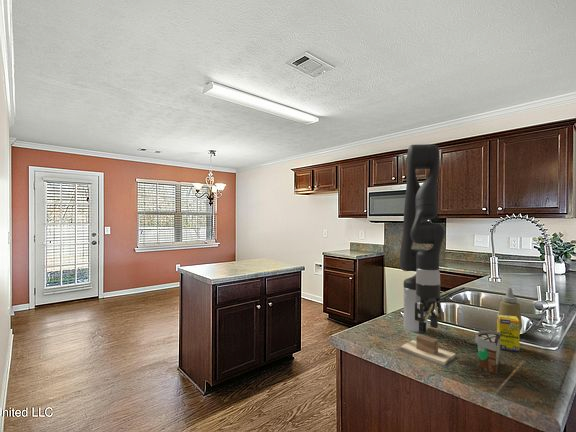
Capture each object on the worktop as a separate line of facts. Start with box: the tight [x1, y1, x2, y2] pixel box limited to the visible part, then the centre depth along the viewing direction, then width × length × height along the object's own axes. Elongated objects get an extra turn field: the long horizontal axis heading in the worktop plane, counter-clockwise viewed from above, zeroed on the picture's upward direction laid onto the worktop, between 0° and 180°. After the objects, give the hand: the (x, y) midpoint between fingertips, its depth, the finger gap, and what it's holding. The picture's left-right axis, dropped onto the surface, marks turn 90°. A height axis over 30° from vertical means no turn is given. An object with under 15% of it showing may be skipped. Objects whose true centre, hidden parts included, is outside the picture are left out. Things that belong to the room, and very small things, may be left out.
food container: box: [474, 330, 501, 376], centre depth 98 cm, size 12×6×10 cm, turn 141°
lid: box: [399, 334, 457, 365], centre depth 107 cm, size 9×15×5 cm, turn 41°
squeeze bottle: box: [498, 287, 523, 331], centre depth 126 cm, size 8×8×18 cm
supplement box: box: [496, 313, 521, 353], centre depth 112 cm, size 6×6×11 cm
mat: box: [395, 347, 461, 368], centre depth 107 cm, size 11×17×1 cm, turn 41°
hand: (428, 330), depth 106 cm, fingers open, 8 cm apart
